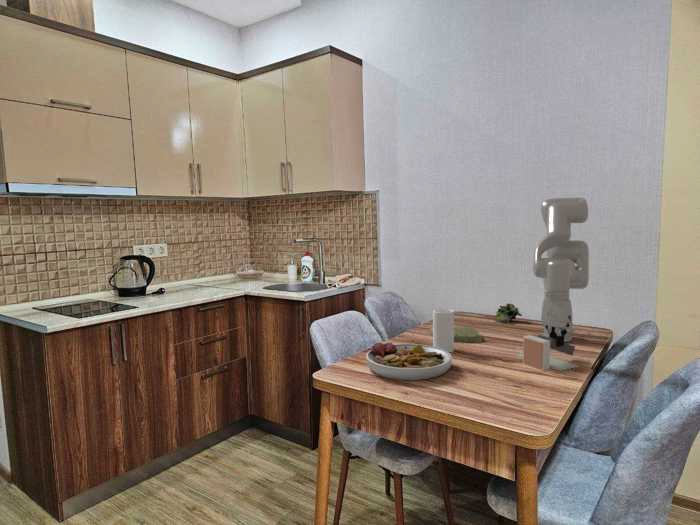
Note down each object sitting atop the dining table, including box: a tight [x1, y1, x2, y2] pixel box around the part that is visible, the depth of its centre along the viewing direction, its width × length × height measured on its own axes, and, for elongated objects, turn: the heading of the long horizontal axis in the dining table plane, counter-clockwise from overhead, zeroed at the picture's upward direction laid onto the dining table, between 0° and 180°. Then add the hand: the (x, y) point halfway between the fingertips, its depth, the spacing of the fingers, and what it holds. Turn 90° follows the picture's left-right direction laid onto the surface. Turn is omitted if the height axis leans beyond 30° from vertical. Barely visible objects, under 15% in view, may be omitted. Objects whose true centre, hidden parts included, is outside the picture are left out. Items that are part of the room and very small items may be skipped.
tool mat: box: [515, 352, 579, 372], centre depth 167 cm, size 9×20×1 cm, turn 26°
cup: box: [432, 308, 455, 353], centre depth 183 cm, size 8×8×16 cm
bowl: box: [365, 341, 453, 381], centre depth 162 cm, size 30×30×8 cm
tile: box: [522, 334, 551, 371], centre depth 161 cm, size 3×9×10 cm, turn 26°
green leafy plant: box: [493, 303, 523, 324], centre depth 231 cm, size 11×11×12 cm
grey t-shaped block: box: [537, 333, 576, 356], centre depth 166 cm, size 15×6×4 cm, turn 116°
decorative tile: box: [429, 326, 483, 343], centre depth 203 cm, size 19×20×4 cm
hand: (556, 344), depth 166 cm, fingers closed on grey t-shaped block, 2 cm apart
